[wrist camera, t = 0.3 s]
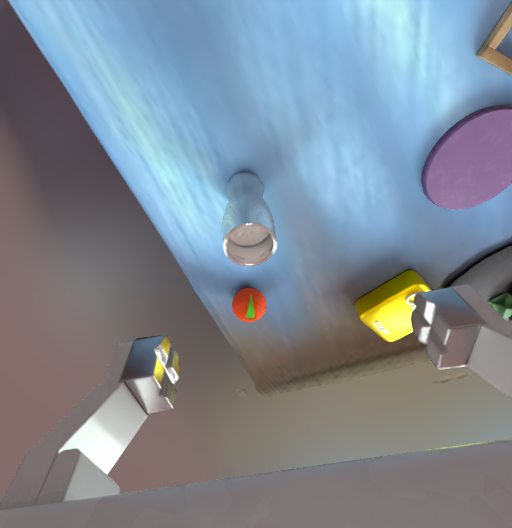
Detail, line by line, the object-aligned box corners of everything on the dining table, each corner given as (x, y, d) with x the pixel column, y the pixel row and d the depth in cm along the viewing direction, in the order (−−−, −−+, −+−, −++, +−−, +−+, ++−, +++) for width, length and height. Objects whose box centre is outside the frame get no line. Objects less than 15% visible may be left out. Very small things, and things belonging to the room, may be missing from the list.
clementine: (232, 276, 61) (232, 303, 55) (266, 276, 61) (270, 302, 56) (231, 303, 66) (231, 330, 60) (263, 303, 66) (266, 329, 61)
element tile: (350, 302, 68) (357, 319, 65) (412, 266, 62) (423, 282, 59) (382, 329, 76) (390, 346, 72) (440, 299, 70) (451, 315, 66)
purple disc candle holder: (438, 112, 43) (443, 115, 42) (553, 98, 43) (560, 100, 42) (411, 212, 54) (414, 215, 53) (503, 201, 54) (508, 204, 53)
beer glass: (214, 185, 48) (209, 241, 36) (250, 160, 45) (258, 211, 34) (239, 215, 52) (242, 275, 40) (274, 194, 49) (288, 250, 38)
